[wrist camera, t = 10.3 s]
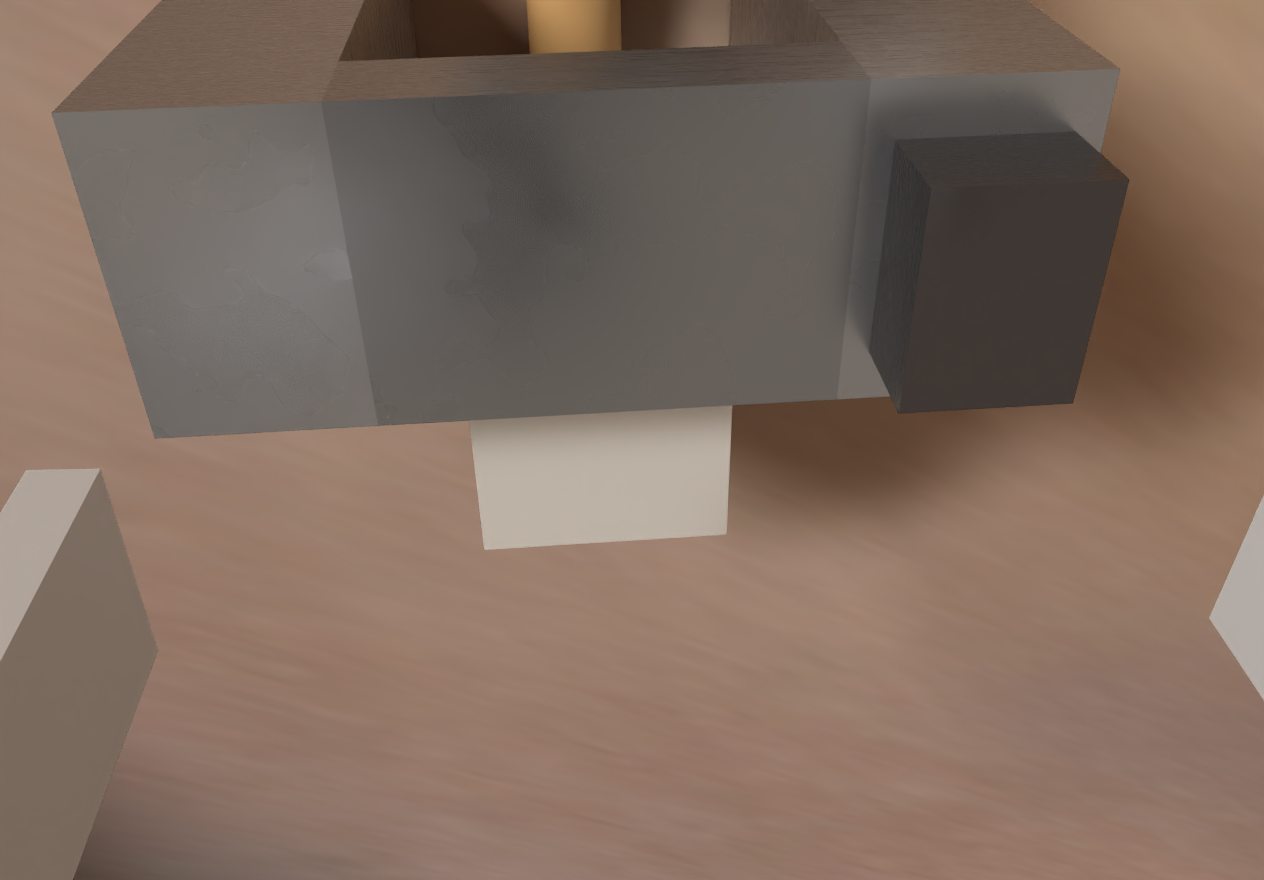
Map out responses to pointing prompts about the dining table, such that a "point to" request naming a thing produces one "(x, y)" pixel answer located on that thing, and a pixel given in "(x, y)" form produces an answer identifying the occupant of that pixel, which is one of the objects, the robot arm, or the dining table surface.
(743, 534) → the dining table surface
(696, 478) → the white block dumbbell
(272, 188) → the gray notched block
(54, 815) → the robot arm
